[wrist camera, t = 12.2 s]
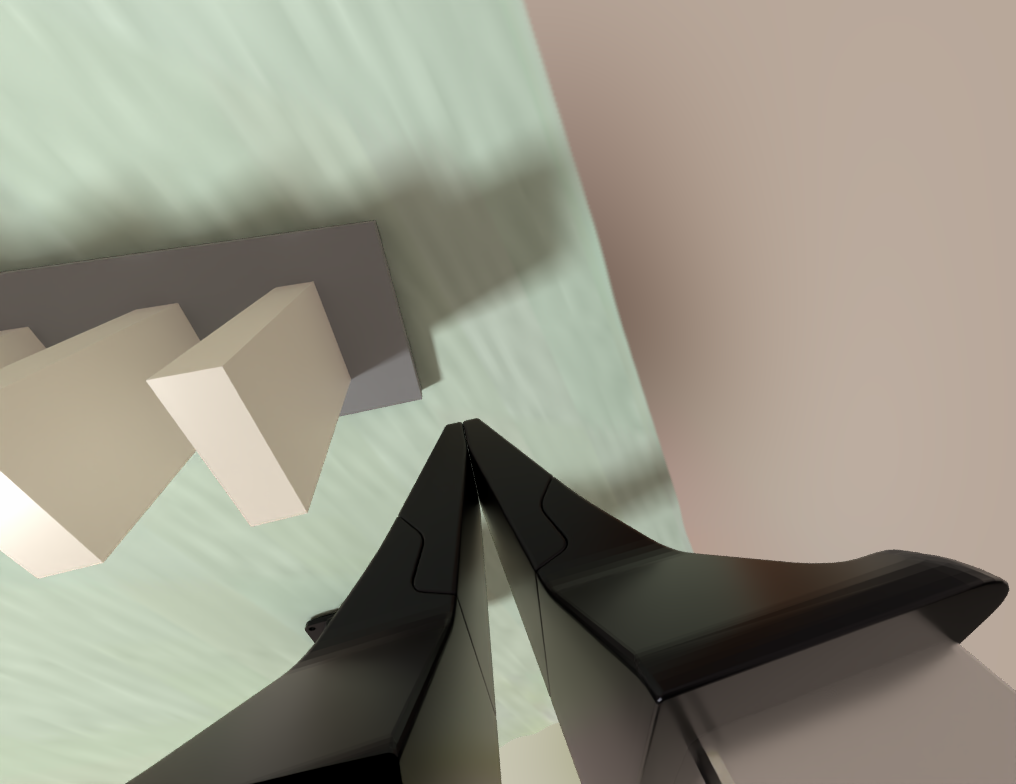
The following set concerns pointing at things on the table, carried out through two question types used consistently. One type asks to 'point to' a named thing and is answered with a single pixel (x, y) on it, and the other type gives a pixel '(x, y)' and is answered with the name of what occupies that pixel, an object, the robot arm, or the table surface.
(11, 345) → the domino
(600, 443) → the table surface
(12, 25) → the table surface
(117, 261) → the board
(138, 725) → the table surface
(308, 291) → the domino
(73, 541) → the domino
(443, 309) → the table surface
